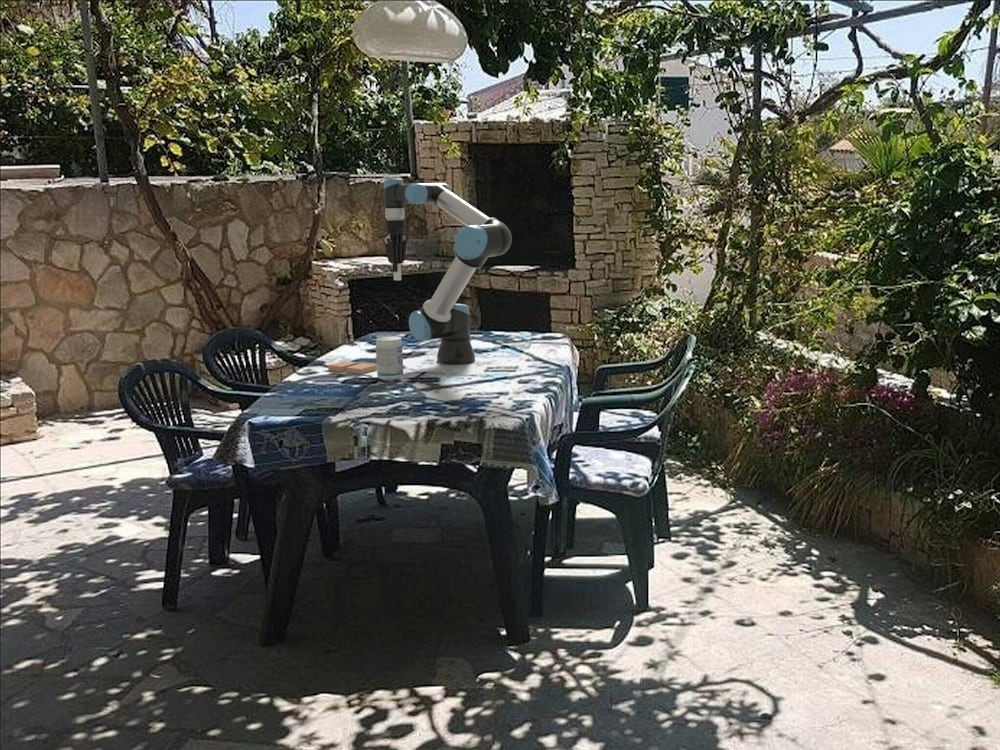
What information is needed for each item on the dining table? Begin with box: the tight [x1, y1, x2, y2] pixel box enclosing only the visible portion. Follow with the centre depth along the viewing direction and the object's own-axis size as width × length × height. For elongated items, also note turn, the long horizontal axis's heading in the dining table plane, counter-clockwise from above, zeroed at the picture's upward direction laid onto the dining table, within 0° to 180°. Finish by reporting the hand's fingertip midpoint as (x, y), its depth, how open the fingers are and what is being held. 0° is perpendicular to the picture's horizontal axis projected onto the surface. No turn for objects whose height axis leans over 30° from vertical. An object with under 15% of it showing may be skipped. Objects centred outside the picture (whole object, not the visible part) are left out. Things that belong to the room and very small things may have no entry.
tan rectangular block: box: [347, 363, 377, 375], centre depth 333 cm, size 7×2×9 cm
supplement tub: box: [375, 336, 404, 380], centre depth 321 cm, size 10×10×15 cm
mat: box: [322, 361, 377, 377], centre depth 339 cm, size 17×22×1 cm
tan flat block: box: [327, 360, 359, 372], centre depth 338 cm, size 7×2×9 cm
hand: (397, 280), depth 347 cm, fingers closed
